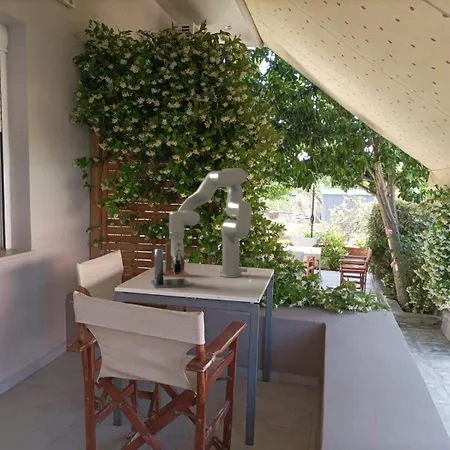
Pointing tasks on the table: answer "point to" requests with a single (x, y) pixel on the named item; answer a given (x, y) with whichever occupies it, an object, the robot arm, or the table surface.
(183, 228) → the robot arm
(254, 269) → the table surface
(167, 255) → the brown slanted frame
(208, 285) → the table surface
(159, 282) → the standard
